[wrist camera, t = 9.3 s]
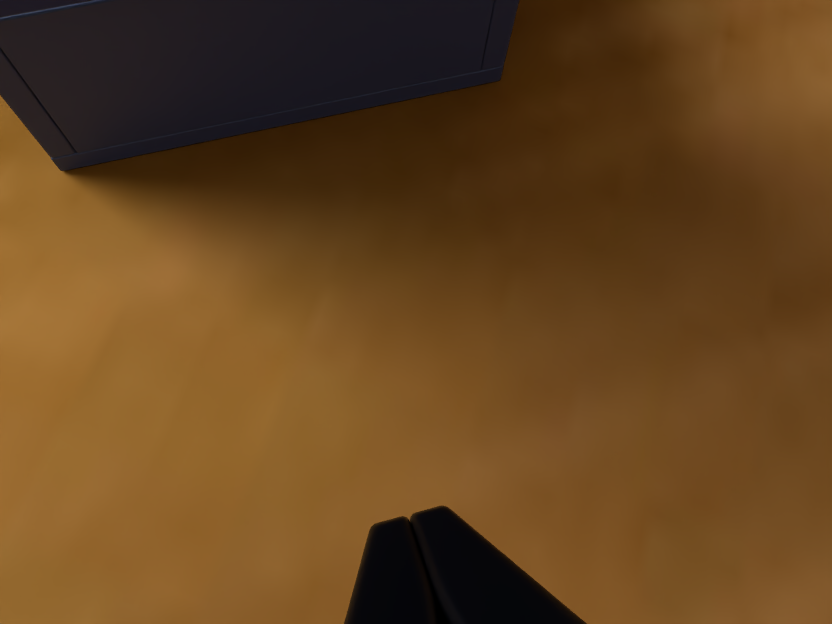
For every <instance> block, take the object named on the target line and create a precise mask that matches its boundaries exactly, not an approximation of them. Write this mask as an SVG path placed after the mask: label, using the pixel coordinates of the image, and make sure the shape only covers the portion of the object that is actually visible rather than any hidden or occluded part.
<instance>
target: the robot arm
mask: <svg viewBox="0 0 832 624" xmlns="http://www.w3.org/2000/svg"><path fill="white" fill-rule="evenodd" d="M344 624H586V623H585V622H584V621H583V620H582V619H580V618H579V617H578V616H577V615H576V614H574V613H573V612H572V611H571V610H570V609H569V608H567V607H566V606H565V605H564V604H563V603H561V602H560V601H559V600H558V599H557V598H555V597H554V596H553V595H552V594H551V593H550V592H548V591H547V590H546V589H545V588H544V587H542V586H541V585H540V584H539V583H538V582H536V581H535V580H534V579H533V578H532V577H530V576H529V575H528V574H527V573H526V572H525V571H523V570H522V569H521V568H520V567H519V566H517V565H516V564H515V563H514V562H513V561H511V560H510V559H509V558H508V557H507V556H506V555H504V554H503V553H502V552H501V551H500V550H498V549H497V548H496V547H495V546H494V545H492V544H491V543H490V542H489V541H488V540H486V539H485V538H484V537H483V536H482V535H481V534H479V533H478V532H477V531H476V530H475V529H473V528H472V527H471V526H470V525H469V524H467V523H466V522H465V521H464V520H463V519H461V518H460V517H459V516H458V515H457V514H456V513H454V512H453V511H452V510H451V509H449V508H448V507H446V506H438V507H434V508H431V509H427V510H423V511H420V512H416V513H414V514H412V516H411V518H410V521H409V519H408V518H407V517H404V516H402V517H398V518H394V519H390V520H387V521H383V522H379V523H376V524H374V525H373V526H372V527H371V529H370V531H369V534H368V538H367V541H366V545H365V549H364V552H363V556H362V560H361V563H360V567H359V571H358V574H357V578H356V582H355V585H354V589H353V593H352V597H351V600H350V604H349V608H348V611H347V615H346V619H345V622H344Z"/></svg>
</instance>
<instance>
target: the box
mask: <svg viewBox="0 0 832 624" xmlns="http://www.w3.org/2000/svg"><path fill="white" fill-rule="evenodd" d="M518 3H519V0H93V1H88V2H82V3H77V4H71V5H66V6H60V7H55V8H49V9H44V10H38V11H33V12H28V13H22V14H17V15H11V16H6V17H0V95H1V96H2V98H3V99H4V100H5V101H6V103H7V104H8V105H9V106H10V108H11V109H12V110H13V111H14V113H15V114H16V115H17V116H18V118H19V119H20V120H21V121H22V122H23V124H24V125H25V126H26V127H27V129H28V130H29V131H30V132H31V134H32V135H33V136H34V137H35V139H36V140H37V141H38V142H39V144H40V145H41V146H42V147H43V149H44V150H45V151H46V152H47V154H48V155H49V156H50V157H51V159H52V160H53V162H54V163H55V164H56V165H57V167H58V168H59V169H60V170H61V171H65V170H70V169H75V168H80V167H85V166H89V165H94V164H99V163H104V162H109V161H114V160H118V159H123V158H128V157H133V156H138V155H143V154H147V153H152V152H157V151H162V150H167V149H171V148H176V147H181V146H186V145H191V144H196V143H200V142H205V141H210V140H215V139H220V138H225V137H229V136H234V135H239V134H244V133H249V132H254V131H258V130H263V129H268V128H273V127H278V126H283V125H287V124H292V123H297V122H302V121H307V120H312V119H316V118H321V117H326V116H331V115H336V114H341V113H345V112H350V111H355V110H360V109H365V108H369V107H374V106H379V105H384V104H389V103H394V102H398V101H403V100H408V99H413V98H418V97H423V96H427V95H432V94H437V93H442V92H447V91H452V90H456V89H461V88H466V87H471V86H476V85H481V84H485V83H490V82H495V81H499V80H500V79H501V75H502V71H503V67H504V66H503V65H504V62H505V58H506V54H507V49H508V45H509V41H510V37H511V33H512V28H513V24H514V20H515V16H516V12H517V7H518Z"/></svg>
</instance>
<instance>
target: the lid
mask: <svg viewBox="0 0 832 624" xmlns="http://www.w3.org/2000/svg"><path fill="white" fill-rule="evenodd" d="M88 1H93V0H0V17H6V16H11V15H17V14H22V13H28V12H33V11H38V10H44V9H49V8H55V7H60V6H66V5H71V4H77V3H82V2H88Z"/></svg>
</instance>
